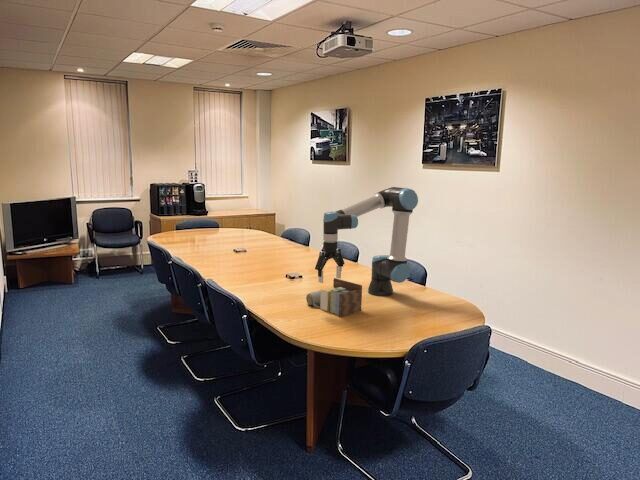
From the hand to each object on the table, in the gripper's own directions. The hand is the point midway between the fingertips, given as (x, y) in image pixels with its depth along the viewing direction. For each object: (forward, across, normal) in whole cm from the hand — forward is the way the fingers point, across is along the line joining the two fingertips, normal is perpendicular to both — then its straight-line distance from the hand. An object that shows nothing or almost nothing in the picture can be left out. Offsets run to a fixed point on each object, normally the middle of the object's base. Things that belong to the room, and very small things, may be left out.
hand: (329, 280), depth 254 cm
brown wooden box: (+16, -2, +4) cm, 17 cm away
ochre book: (+16, 0, 0) cm, 16 cm away
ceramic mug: (+16, +1, -9) cm, 18 cm away
